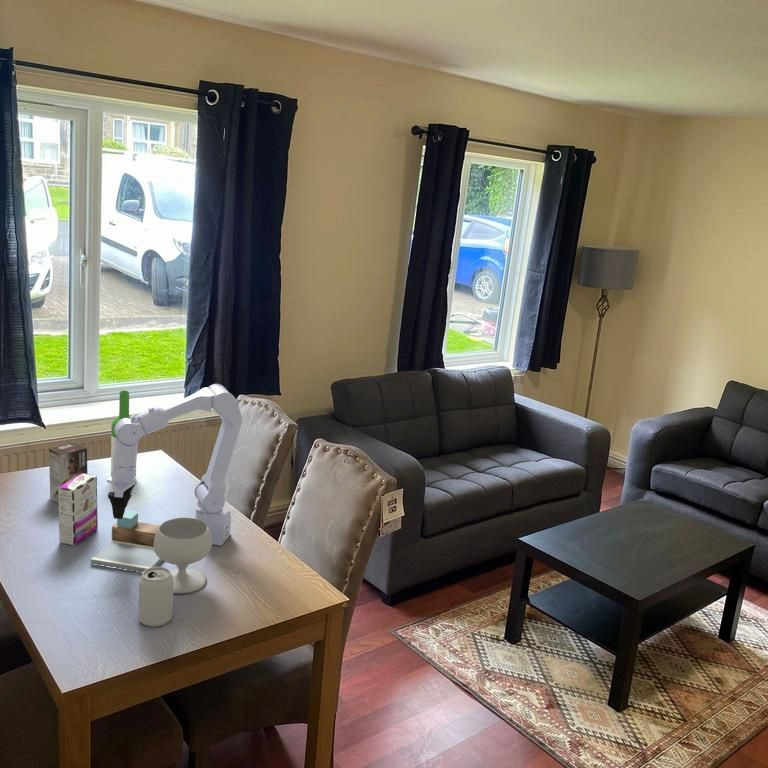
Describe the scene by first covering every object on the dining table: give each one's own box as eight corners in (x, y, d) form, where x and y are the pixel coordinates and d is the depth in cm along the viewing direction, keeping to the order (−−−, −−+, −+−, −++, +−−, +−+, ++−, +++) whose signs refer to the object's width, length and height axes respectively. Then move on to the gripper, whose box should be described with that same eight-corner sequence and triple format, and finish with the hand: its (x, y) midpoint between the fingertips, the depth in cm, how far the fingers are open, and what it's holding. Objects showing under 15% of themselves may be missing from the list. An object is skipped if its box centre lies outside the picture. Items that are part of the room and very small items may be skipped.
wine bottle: (140, 480, 243) (141, 393, 236) (118, 485, 238) (118, 396, 230) (128, 472, 248) (129, 387, 241) (106, 477, 243) (107, 390, 235)
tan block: (168, 543, 204) (168, 526, 203) (160, 551, 199) (160, 534, 198) (120, 535, 206) (120, 519, 204) (111, 543, 201) (111, 526, 200)
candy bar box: (82, 526, 208) (81, 472, 204) (98, 529, 207) (98, 475, 203) (57, 543, 198) (56, 486, 194) (74, 546, 197) (74, 489, 193)
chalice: (211, 568, 193) (214, 516, 189) (208, 597, 179) (211, 541, 176) (156, 568, 190) (157, 515, 186) (149, 597, 177) (150, 540, 173)
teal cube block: (137, 522, 203) (138, 512, 203) (131, 528, 200) (131, 518, 199) (124, 520, 204) (124, 510, 203) (117, 526, 200) (117, 516, 199)
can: (142, 609, 172) (143, 563, 169) (175, 611, 172) (176, 564, 169) (134, 628, 164) (135, 580, 161) (168, 629, 165) (170, 581, 162)
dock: (168, 554, 197) (168, 549, 197) (149, 574, 187) (149, 568, 186) (112, 545, 199) (112, 540, 199) (90, 564, 189) (90, 558, 188)
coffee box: (76, 490, 231) (76, 441, 227) (88, 496, 227) (88, 447, 223) (48, 498, 224) (48, 448, 220) (60, 504, 220) (60, 454, 216)
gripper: (113, 453, 198) (109, 500, 201) (103, 472, 184) (99, 522, 187) (140, 455, 200) (135, 502, 203) (133, 475, 186) (128, 524, 189)
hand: (120, 512), depth 195 cm, fingers open, 7 cm apart
